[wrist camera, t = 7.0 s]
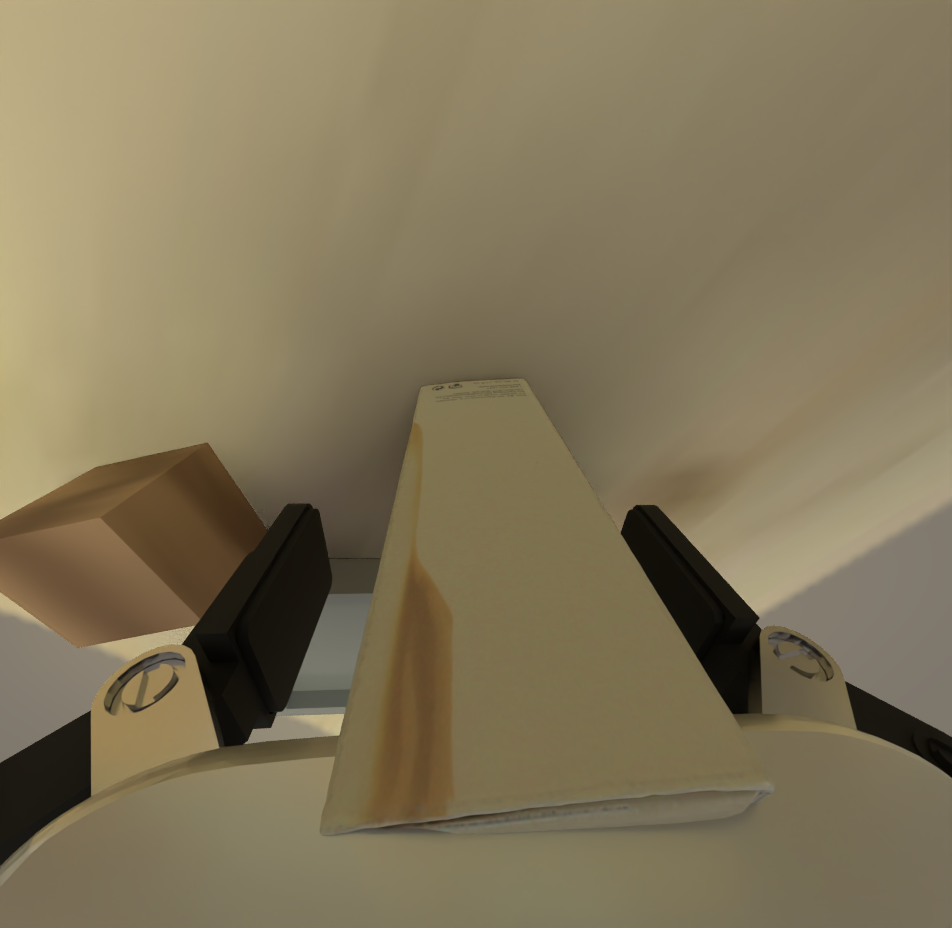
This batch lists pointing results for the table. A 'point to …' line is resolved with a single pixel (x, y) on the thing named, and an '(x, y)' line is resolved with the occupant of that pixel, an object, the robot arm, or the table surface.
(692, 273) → the table surface
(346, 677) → the slate tray
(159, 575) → the walnut block
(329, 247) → the table surface
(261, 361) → the table surface
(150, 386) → the table surface
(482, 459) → the skincare box
